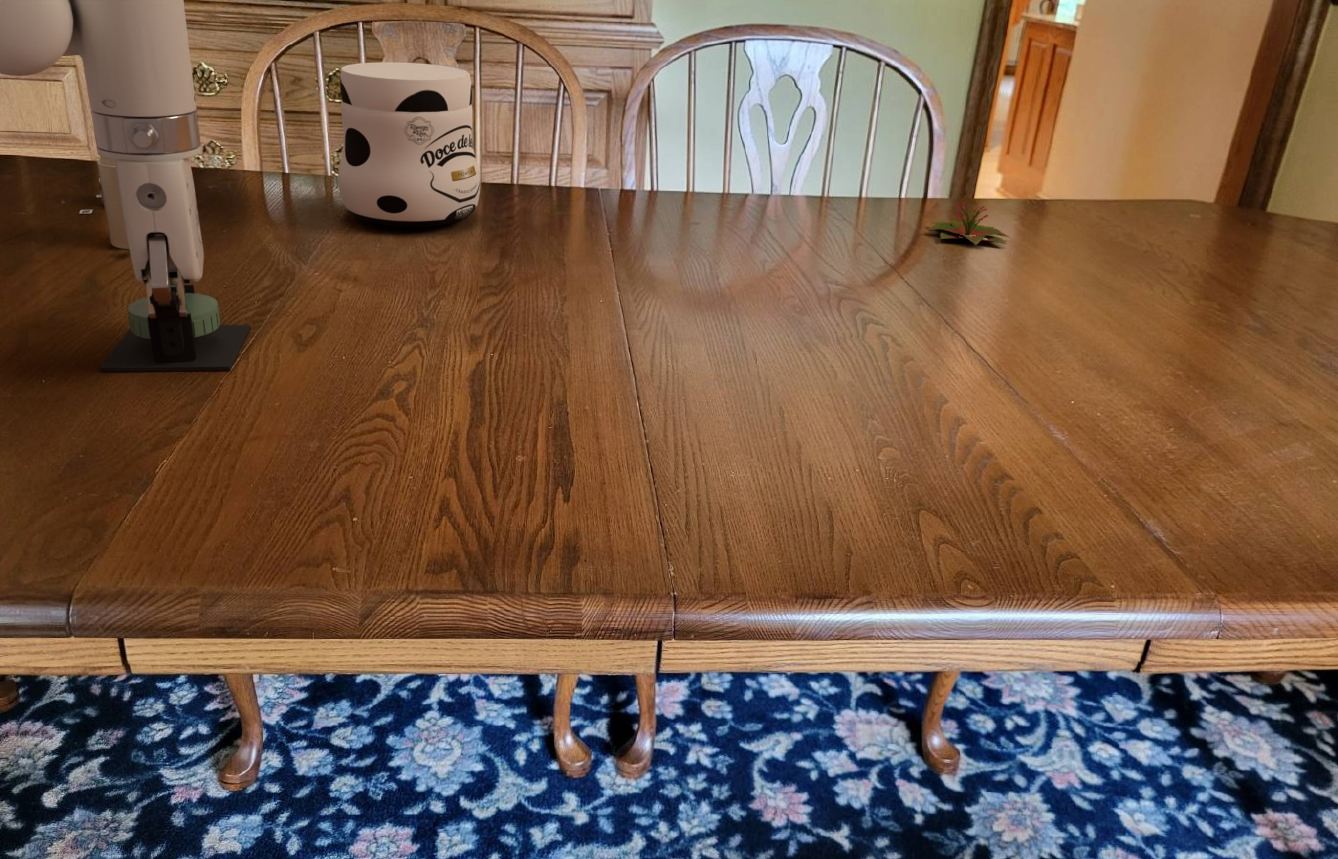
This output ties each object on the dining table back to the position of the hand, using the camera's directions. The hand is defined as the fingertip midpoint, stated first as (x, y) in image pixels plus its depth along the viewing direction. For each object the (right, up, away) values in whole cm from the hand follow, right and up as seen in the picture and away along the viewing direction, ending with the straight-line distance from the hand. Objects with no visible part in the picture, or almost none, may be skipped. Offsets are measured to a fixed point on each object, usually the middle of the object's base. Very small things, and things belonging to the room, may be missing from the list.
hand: (177, 342), depth 91 cm
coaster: (0, -1, 0) cm, 1 cm away
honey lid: (0, +3, -1) cm, 3 cm away
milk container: (+10, +19, +44) cm, 49 cm away
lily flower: (+83, +19, +53) cm, 100 cm away
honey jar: (-17, +14, +27) cm, 35 cm away
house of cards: (-28, +21, +41) cm, 54 cm away
